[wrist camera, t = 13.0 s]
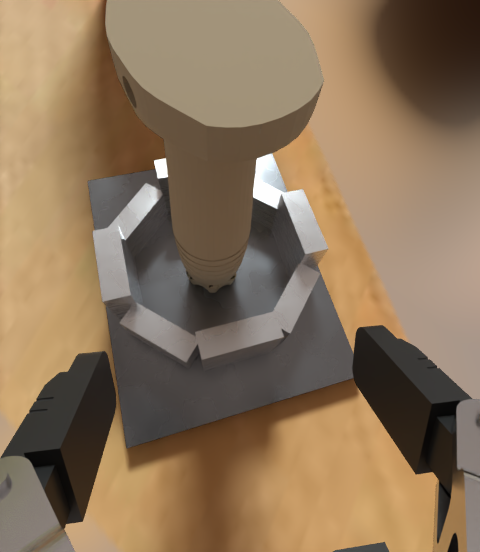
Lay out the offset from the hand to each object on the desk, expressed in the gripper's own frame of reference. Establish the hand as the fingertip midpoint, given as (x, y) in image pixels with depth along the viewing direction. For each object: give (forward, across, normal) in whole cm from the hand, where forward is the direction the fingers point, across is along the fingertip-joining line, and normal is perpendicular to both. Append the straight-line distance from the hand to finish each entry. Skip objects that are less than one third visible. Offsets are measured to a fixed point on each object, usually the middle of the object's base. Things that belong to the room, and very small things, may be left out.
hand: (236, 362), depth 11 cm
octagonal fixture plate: (+13, 0, +2) cm, 13 cm away
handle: (+12, 0, +2) cm, 12 cm away
